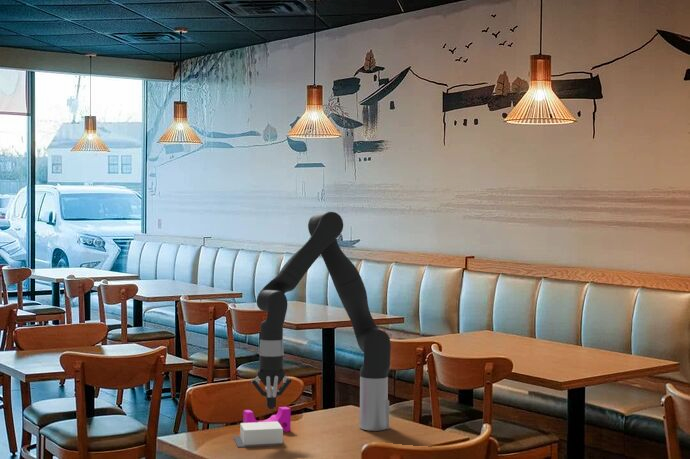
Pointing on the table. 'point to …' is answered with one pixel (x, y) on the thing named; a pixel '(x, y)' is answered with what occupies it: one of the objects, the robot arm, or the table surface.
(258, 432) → the white rectangular block
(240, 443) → the mat
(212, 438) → the table surface
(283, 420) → the toy block
